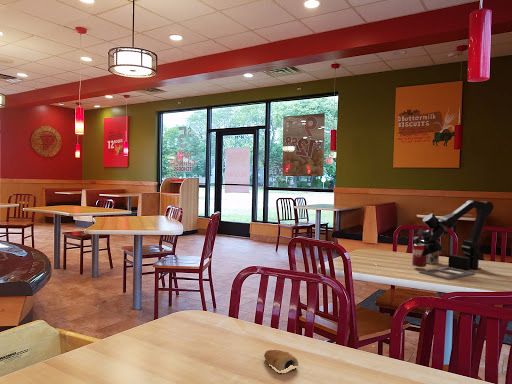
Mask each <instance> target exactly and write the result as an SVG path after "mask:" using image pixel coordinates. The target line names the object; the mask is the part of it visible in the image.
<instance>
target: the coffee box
mask: <svg viewBox="0 0 512 384" xmlns="http://www.w3.org/2000/svg"><path fill="white" fill-rule="evenodd" d="M439 239H440V240H441V237H440V238H439ZM422 240H424V239H423V238H422ZM438 242H439V243H440V242H441V241H438ZM440 244H441V243H440ZM439 258H440V252H439V251H437V252H434V253H431V254H428V255H427V261H426V264H428V265H429V264H430V265H434V264H437V263H439V260H440V259H439Z"/></svg>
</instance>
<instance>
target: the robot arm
mask: <svg viewBox="0 0 512 384" xmlns="http://www.w3.org/2000/svg"><path fill="white" fill-rule="evenodd" d="M494 208H495V205H494V204H493V202H491V201H488V200H487V201H485V200H480V201H478V200H475V199H474V200H473V199H469V200H467V201H466V202H465V203H463V204H462V205H461V206H459V207H458V208H457V209H456V210H454V211H453V212H451V213H449V214H446V215H443V216H442V217H440V218H437V217H436V215H435V214H434V213H430V214H428V215H426V216H424V217H423V218H422V222H423V223H424V225H426V226H427V228H428V229H421V228H419V230H418V231H417V233H416V234H417V235H418V236H416V235H415V236H414V237H413V238H412V240H413V242H414V244H425V245H427V248H426V249H425V251H424V252H423V253H422V256H426V255H428V254H431V253H434V252H437V251H439V253H441V252H442V251H443V246H442V244H441V243H439V242H438V241H440V240H441V237H442V236H443V235H449V232H448V229H452V228H453V227H454V226H455V225H456V224H457V223H458V221H459V219H460V218H462V217H464V216H465V215H466V214H467V213H469V212H470V211H471V210H473V209H475V211H476V212H475V214H476V218H475V219H474V223H473V226H472V229H471V231H470V235H469V238H468V239H467V240H463V242H462V245H461V251H462V253H463V257H468V258H471V261H470V270H474V271H476V270H477V271H478V270H481V269H482V267H479V265H480V263H479V261H480V260H482V259H483V258H484V255H483V254H482V253H481V252H480V243H479V241H480V238H481V236H482V232H483V229H484V226H485V223H486V221H487V218H488V217H489V216H490V215H491V214H492V212H493V210H494ZM447 228H448V229H447ZM430 229H431V230H430ZM439 238H440V239H439ZM423 239H424V240H423ZM440 242H441V241H440Z"/></svg>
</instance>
